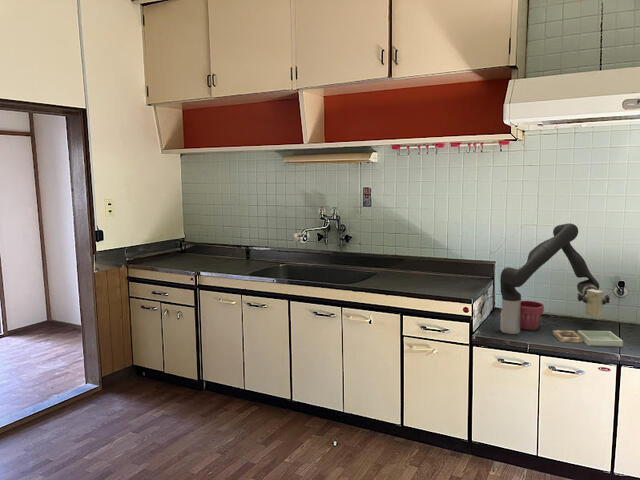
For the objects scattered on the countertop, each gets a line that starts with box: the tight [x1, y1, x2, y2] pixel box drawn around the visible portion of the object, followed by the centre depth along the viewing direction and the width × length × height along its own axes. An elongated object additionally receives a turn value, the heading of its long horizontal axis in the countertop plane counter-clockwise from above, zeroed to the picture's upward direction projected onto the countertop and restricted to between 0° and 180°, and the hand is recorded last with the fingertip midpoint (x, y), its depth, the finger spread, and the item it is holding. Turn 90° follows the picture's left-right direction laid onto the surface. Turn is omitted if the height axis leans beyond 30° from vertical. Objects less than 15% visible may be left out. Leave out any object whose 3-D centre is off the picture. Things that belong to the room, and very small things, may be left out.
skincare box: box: [584, 289, 605, 318], centre depth 250 cm, size 6×4×12 cm
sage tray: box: [577, 330, 624, 348], centre depth 251 cm, size 15×15×3 cm
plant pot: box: [520, 300, 545, 331], centre depth 274 cm, size 14×14×13 cm
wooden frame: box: [552, 329, 583, 343], centre depth 256 cm, size 10×12×2 cm
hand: (595, 302), depth 248 cm, fingers closed on skincare box, 7 cm apart
